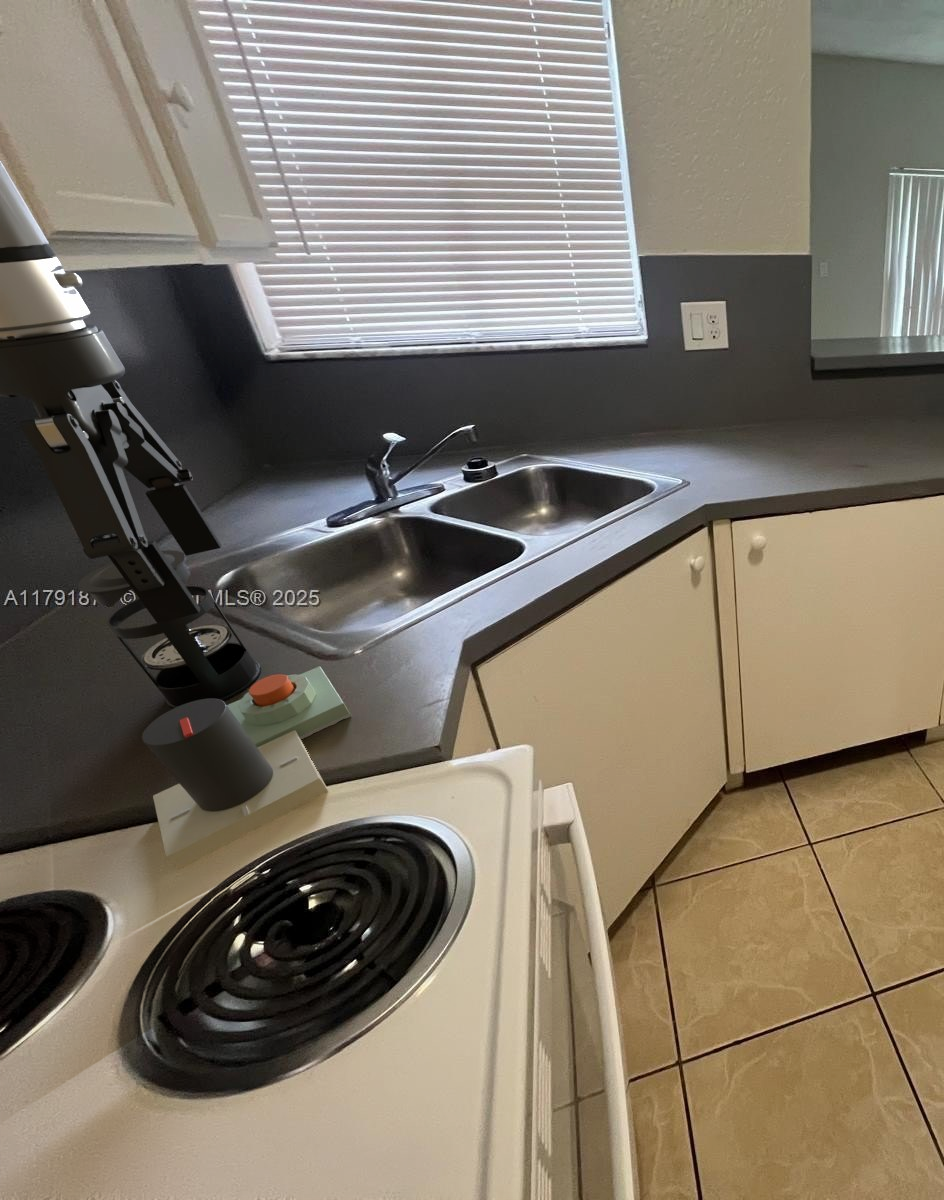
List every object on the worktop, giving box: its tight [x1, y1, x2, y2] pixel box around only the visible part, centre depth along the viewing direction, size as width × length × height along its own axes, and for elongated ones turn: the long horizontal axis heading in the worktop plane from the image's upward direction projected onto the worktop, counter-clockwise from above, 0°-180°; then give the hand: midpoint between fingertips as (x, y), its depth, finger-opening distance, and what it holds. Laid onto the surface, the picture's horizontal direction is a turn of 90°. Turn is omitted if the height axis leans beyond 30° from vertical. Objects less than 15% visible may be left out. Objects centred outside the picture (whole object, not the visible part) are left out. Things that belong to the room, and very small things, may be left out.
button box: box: [226, 665, 351, 747], centre depth 72 cm, size 10×10×4 cm
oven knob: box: [141, 698, 273, 811], centre depth 60 cm, size 6×6×9 cm
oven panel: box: [152, 730, 329, 871], centre depth 63 cm, size 10×12×2 cm
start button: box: [248, 673, 295, 707], centre depth 71 cm, size 4×4×2 cm
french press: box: [71, 526, 262, 710], centre depth 72 cm, size 12×9×23 cm
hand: (193, 580), depth 57 cm, fingers open, 13 cm apart
